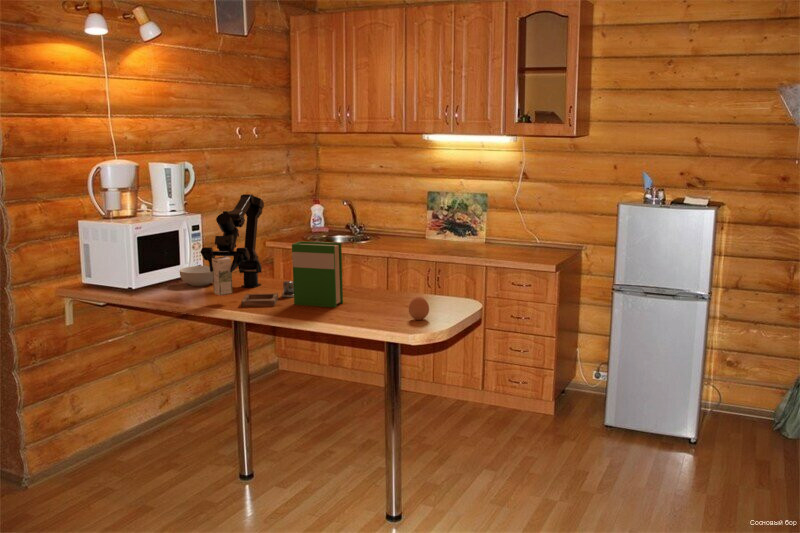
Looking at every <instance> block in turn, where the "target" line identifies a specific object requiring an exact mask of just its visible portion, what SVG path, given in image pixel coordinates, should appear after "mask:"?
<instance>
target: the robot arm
mask: <svg viewBox="0 0 800 533" xmlns="http://www.w3.org/2000/svg"><path fill="white" fill-rule="evenodd" d="M264 207H265V203H264V200H262V199H261V197H257V196H255V195H254V194H247V193H246V194H245V193H244V194H241V195H240V197H239V200H238V202H237V203H236V205H235V206H234V207H233V209H232V210H227V211H226V210H224V211H222V213H220V214H219V215H217V216H216V219H215V221H216V223H217V225H218V227H219V229H220V232H223V234H222V235H215V236H214V245H216V249H218V250H214V249H213V247H210V246H209V247H208V246H206V247H202V248H201V250H200V254H201V257H202V258H203V259H204V260H205V261H208V264H209V265H208V266H210V272H212V271H213V269H212V258H216V257H233V260H232V261H231V269H230V272H232V273H233V272H234V271H235V270H236V269H237V267H238V271H239V274H243V284H242V285H240V288H241V287H242V288H252V289H253V288H254V289H255V288H257V287H259V286H261V285H262V284H261V283H259V274H260V273H262V269H263V268H262V265H261V262H260V260H259V256H258V254H257V252H256V245H257V244H256V243H257V235H258V234H257V233H258V221H259V220H258V219H259V218H260V217H261V215H262V214H263V209H264ZM245 215H246V219H245ZM245 222H246V227H245V236H244V237H245V238H244V247H237V244H236V243H237V240H238V237H240V233H239V229H238V228H242V227H243V225H245ZM235 248H236V250H235Z"/></svg>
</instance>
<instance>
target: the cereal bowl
mask: <svg viewBox="0 0 800 533" xmlns="http://www.w3.org/2000/svg"><path fill="white" fill-rule="evenodd" d="M179 276H180V279H181V280H182V281H183V283H186V284H189V285H191V286H193V287H204V286H208V285H210V284H211V283H213V271H212V272H210V266H209V265H193V266H185V267H183V268H182V267H181V268H180V270H179Z"/></svg>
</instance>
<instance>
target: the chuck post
mask: <svg viewBox="0 0 800 533" xmlns="http://www.w3.org/2000/svg"><path fill="white" fill-rule="evenodd" d="M282 286H283V290H282V291H283V292H282V293H281V297H282V298H284V299H285V298H286V299H292V298H294V286H293V280H285V281H283V283H282Z"/></svg>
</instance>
